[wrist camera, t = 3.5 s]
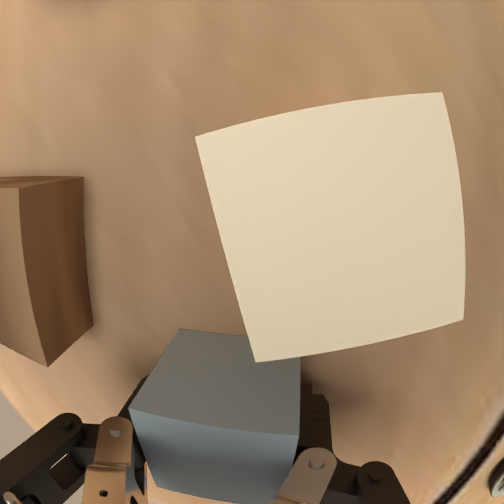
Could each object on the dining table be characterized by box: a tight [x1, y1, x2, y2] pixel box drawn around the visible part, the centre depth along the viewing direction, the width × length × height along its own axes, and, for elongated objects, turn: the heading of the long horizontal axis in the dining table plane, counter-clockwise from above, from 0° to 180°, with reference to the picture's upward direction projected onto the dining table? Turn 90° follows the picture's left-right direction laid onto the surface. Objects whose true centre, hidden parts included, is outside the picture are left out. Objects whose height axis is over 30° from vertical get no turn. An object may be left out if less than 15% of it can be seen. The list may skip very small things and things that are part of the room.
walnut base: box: [0, 176, 93, 367], centre depth 11 cm, size 7×7×4 cm
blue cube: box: [128, 329, 300, 504], centre depth 11 cm, size 5×5×5 cm
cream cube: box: [195, 92, 465, 362], centre depth 8 cm, size 5×5×5 cm
